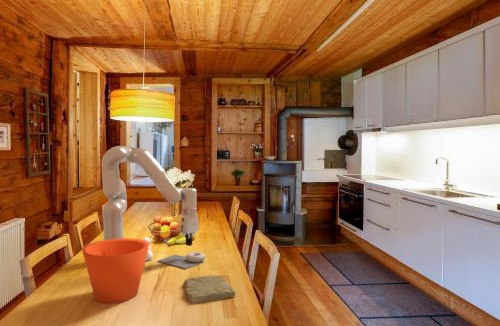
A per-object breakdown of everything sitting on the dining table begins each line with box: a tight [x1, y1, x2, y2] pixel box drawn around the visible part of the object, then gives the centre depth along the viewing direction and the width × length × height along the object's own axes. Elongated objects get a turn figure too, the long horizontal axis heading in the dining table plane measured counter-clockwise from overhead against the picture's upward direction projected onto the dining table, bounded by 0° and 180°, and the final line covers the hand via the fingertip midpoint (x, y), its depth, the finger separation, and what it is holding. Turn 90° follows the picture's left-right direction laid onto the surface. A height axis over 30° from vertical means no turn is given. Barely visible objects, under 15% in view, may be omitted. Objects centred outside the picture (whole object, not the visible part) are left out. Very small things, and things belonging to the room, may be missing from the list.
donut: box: [185, 251, 206, 262], centre depth 185 cm, size 10×4×10 cm
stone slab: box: [182, 274, 236, 305], centre depth 147 cm, size 19×20×4 cm
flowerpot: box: [81, 237, 150, 305], centre depth 141 cm, size 25×25×20 cm
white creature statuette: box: [142, 236, 154, 262], centre depth 187 cm, size 10×9×12 cm
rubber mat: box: [157, 254, 204, 270], centre depth 184 cm, size 13×20×1 cm, turn 57°
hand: (188, 245), depth 189 cm, fingers closed
